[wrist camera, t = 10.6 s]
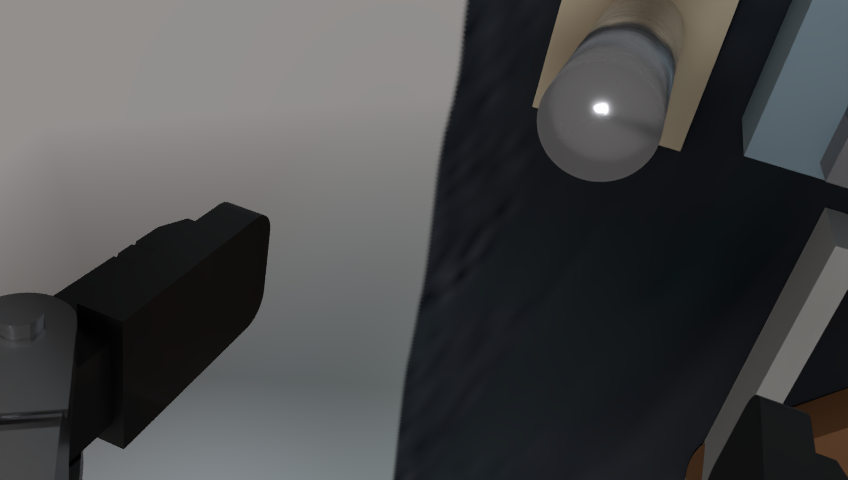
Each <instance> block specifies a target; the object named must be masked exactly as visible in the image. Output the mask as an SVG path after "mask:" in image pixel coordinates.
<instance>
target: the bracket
mask: <svg viewBox="0 0 848 480" xmlns="http://www.w3.org/2000/svg"><path fill="white" fill-rule="evenodd" d="M793 408H795V409H798V410H801V411H804V412H807V413H808V414H809V415H810V418H811V423H812V430H813V437H814V444H815V451H816V453H818V454H821V455H824V456H826V457H829V458H832V459H834V460H837V461H838V463H839V465H840V466H841V468H842V469H843V471H844V472H845V474H846V475H847V477H848V388H847V389H844V390H841V391H838V392H835V393H833V394H830V395H827V396H824V397H821V398H818V399H815V400H813V401H810V402H807V403H804V404H801V405H798V406H795V407H793ZM704 451H705V443H704V444H702V445H701V446H700V447H699V448H698V449H697V451H696V452H695V453H694V455H693V456H692V458H691V460H690V462H689V464H688V467H687V471H686V480H702V473H703V463H704Z"/></svg>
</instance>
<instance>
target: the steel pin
mask: <svg viewBox="0 0 848 480" xmlns="http://www.w3.org/2000/svg"><path fill="white" fill-rule="evenodd" d="M683 36H684V24H683V19H682V16H681V14H680V11H679V10H678V8H677V6H676V5H675V4H674V3H673V2H672V1H671V0H614V1H613V2H612V3H611V4H610V5H609V6H608V7H607V8H606V10H605V11H604V12H603V14H602V15H601V16H600V18H599V19H598V20H597V22H596V23H595V24H594V26H593V27H592V29H591V30H590V31H589V33H588V34H587V35H586V37H585V38H584V39H583V41H582V42H581V43H580V45H579V46H578V47H577V49H576V50H575V51H574V53H573V54H572V55H571V57H570V58H569V60H568V61H567V62H566V64H565V65H564V66H563V68H562V69H561V70H560V72H559V73H558V74H557V76H556V77H555V78H554V80H553V81H552V82H551V84H550V85H549V87H548V88H547V89H546V91H545V93H544V95H543V96H542V98H541V101H540V104H539V108H538V113H537V130H538V135H539V138H540V141H541V144H542V146H543V148H544V150H545V152H546V153H547V155H548V156H549V157H550V159H551V160H552V161H553V162H554V163H555V164H556V165H557V166H558V167H559V168H561V169H562V170H564V171H565V172H567V173H568V174H570V175H572V176H575V177H577V178H580V179H583V180H587V181H594V182H607V181H614V180H618V179H621V178H624V177H627V176H629V175H631V174H633V173H634V172H636V171H637V170H639V169H640V168H641V167H643V166H644V165H645V164H646V163H647V162H648V161H649V159H650V158H651V157H652V156H653V154H654V153H655V151H656V149H657V147H658V145H659V143H660V140H661V137H662V133H663V128H664V124H665V119H666V115H667V110H668V105H669V101H670V96H671V92H672V87H673V83H674V78H675V73H676V69H677V64H678V60H679V55H680V51H681V46H682V42H683Z"/></svg>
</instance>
